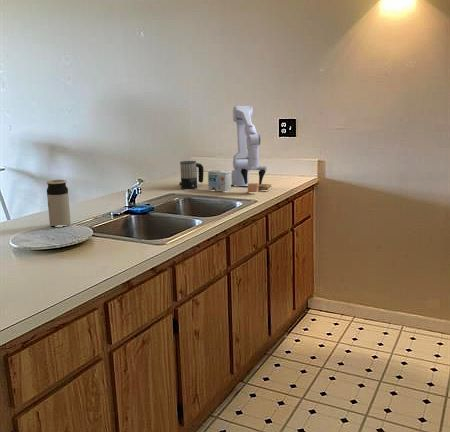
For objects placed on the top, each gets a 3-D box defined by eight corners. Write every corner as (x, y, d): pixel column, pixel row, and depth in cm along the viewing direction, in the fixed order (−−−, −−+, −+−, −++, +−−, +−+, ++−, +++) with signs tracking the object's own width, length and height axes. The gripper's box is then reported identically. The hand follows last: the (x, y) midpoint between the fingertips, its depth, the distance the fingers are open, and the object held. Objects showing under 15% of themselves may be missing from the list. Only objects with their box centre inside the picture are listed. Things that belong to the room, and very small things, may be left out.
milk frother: (189, 190, 278) (188, 163, 275) (168, 187, 288) (167, 161, 284) (206, 186, 289) (205, 160, 286) (185, 184, 299) (184, 158, 295)
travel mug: (72, 222, 211) (69, 179, 207) (67, 227, 203) (64, 182, 199) (53, 223, 211) (49, 179, 207) (47, 228, 203) (43, 183, 199)
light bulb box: (207, 191, 276) (207, 171, 274) (214, 189, 282) (213, 169, 280) (225, 192, 271) (225, 172, 269) (231, 190, 277) (231, 170, 275)
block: (247, 193, 268) (247, 184, 267) (250, 192, 272) (250, 182, 271) (256, 194, 267) (256, 184, 266) (258, 192, 271) (258, 183, 270)
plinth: (252, 190, 276) (252, 186, 275) (257, 188, 283) (257, 183, 282) (267, 191, 273) (267, 186, 272) (271, 188, 280) (271, 184, 280)
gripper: (237, 158, 264) (237, 184, 267) (264, 159, 259) (264, 185, 262) (241, 156, 271) (241, 182, 274) (268, 157, 266) (268, 183, 269)
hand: (253, 184), depth 268 cm, fingers open, 7 cm apart
